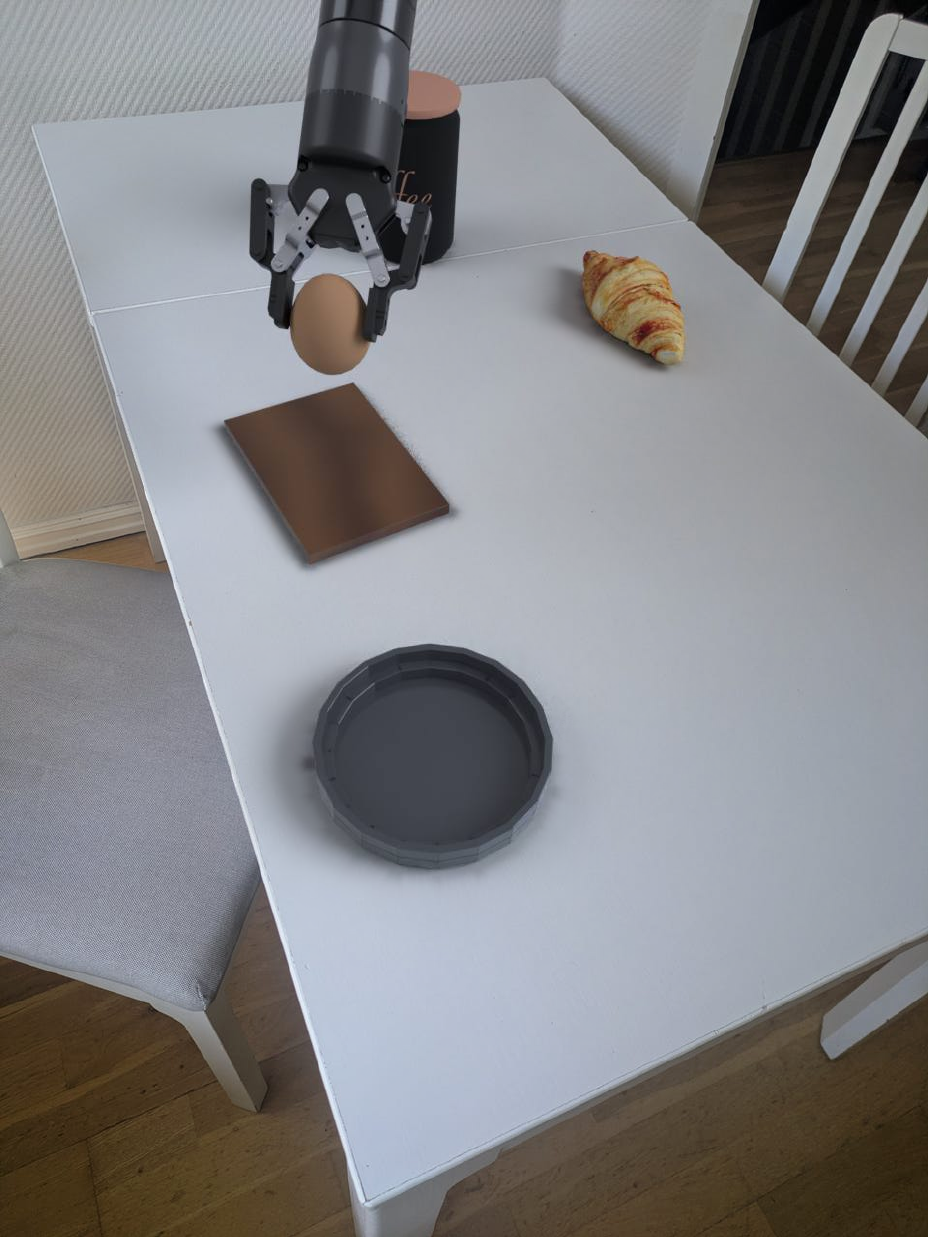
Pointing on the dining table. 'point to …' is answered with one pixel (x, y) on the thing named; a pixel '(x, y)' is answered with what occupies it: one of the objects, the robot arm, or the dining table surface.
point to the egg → (329, 324)
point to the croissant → (634, 304)
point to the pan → (432, 755)
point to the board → (334, 471)
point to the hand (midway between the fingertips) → (325, 333)
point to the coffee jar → (427, 163)
